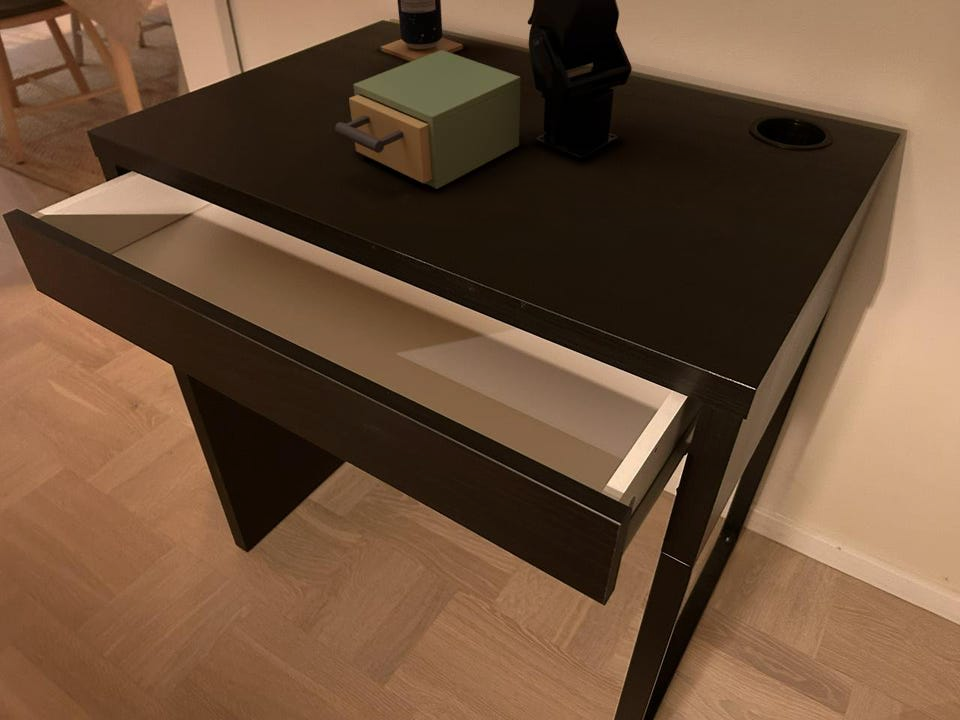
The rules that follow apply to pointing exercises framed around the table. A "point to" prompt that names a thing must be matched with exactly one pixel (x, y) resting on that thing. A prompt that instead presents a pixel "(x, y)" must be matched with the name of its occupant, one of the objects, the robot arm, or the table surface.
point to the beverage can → (420, 22)
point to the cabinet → (453, 109)
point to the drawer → (389, 137)
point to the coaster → (412, 54)
